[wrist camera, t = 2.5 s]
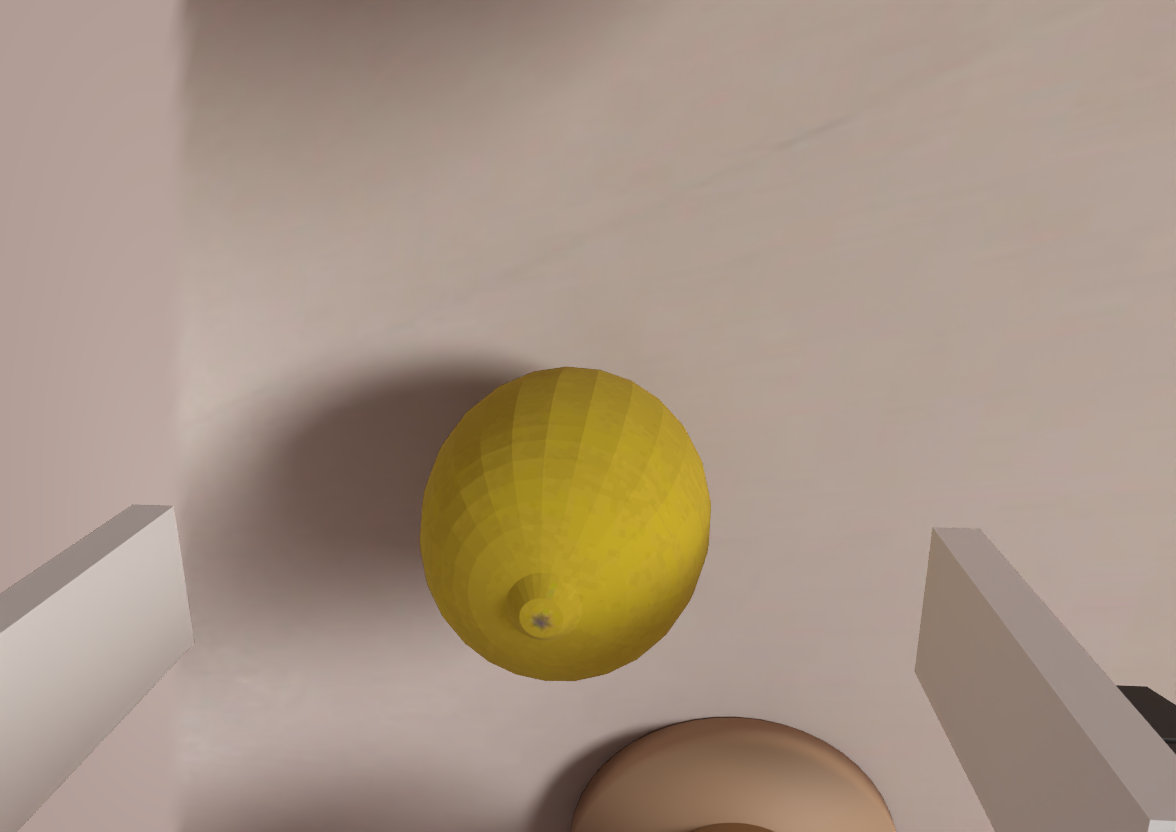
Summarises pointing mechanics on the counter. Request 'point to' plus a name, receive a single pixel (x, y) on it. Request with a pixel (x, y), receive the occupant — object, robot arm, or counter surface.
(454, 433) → the lemon
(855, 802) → the bobbin
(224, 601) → the counter surface
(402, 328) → the counter surface
